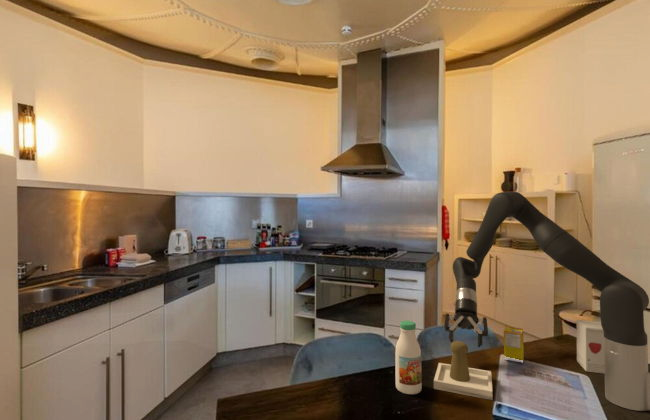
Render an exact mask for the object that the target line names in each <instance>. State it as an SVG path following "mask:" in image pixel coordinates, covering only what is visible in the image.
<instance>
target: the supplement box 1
mask: <svg viewBox="0 0 650 420" xmlns="http://www.w3.org/2000/svg"><path fill="white" fill-rule="evenodd" d="M503 349H504V350H503V354H504V355H503V357H504V356H506V357H510V358H515V359H519V360H523V361H524V360H525V359H524V358H525V356H524V355H525V352H524V351H525V349H524V328H520V327H514V326H505V327H504V329H503Z"/></svg>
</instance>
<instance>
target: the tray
mask: <svg viewBox="0 0 650 420" xmlns="http://www.w3.org/2000/svg"><path fill="white" fill-rule="evenodd" d="M450 368H451V363H450V364H449V363H442V362H438V364H437V368H436V371H435V375H434V378H433V389H434V390H439V391H444V392H448V393H449V392H450V393H452V394H453V393H454V394H457V395H463V396H470V397H474V398H479V399H484V400H489V401H493V380H492V379H493V378H492V371H491V370H487V369H486V370H485V369H480V368H473V367H468V369H469V375H470V380H469V381H466V382H460V381H456V380H453V379H452V378H450Z"/></svg>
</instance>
